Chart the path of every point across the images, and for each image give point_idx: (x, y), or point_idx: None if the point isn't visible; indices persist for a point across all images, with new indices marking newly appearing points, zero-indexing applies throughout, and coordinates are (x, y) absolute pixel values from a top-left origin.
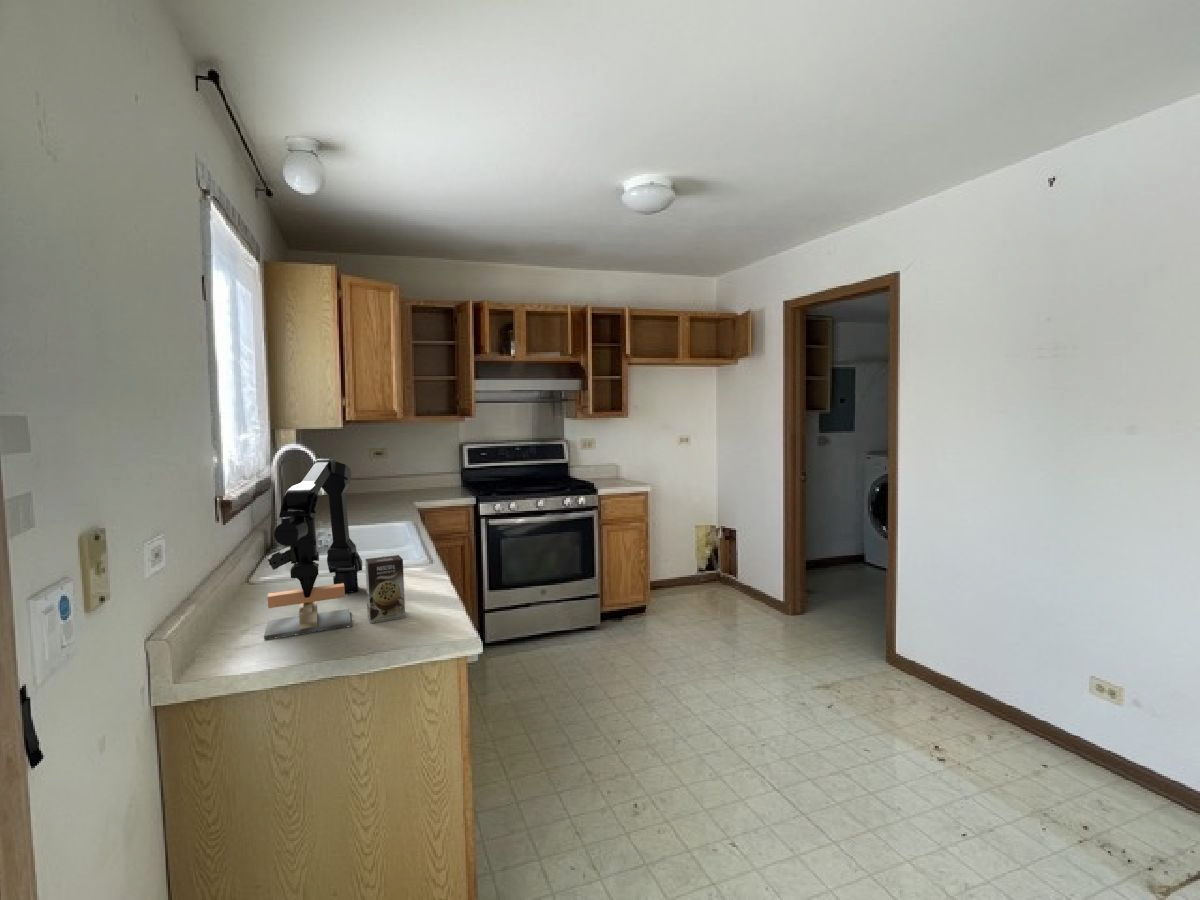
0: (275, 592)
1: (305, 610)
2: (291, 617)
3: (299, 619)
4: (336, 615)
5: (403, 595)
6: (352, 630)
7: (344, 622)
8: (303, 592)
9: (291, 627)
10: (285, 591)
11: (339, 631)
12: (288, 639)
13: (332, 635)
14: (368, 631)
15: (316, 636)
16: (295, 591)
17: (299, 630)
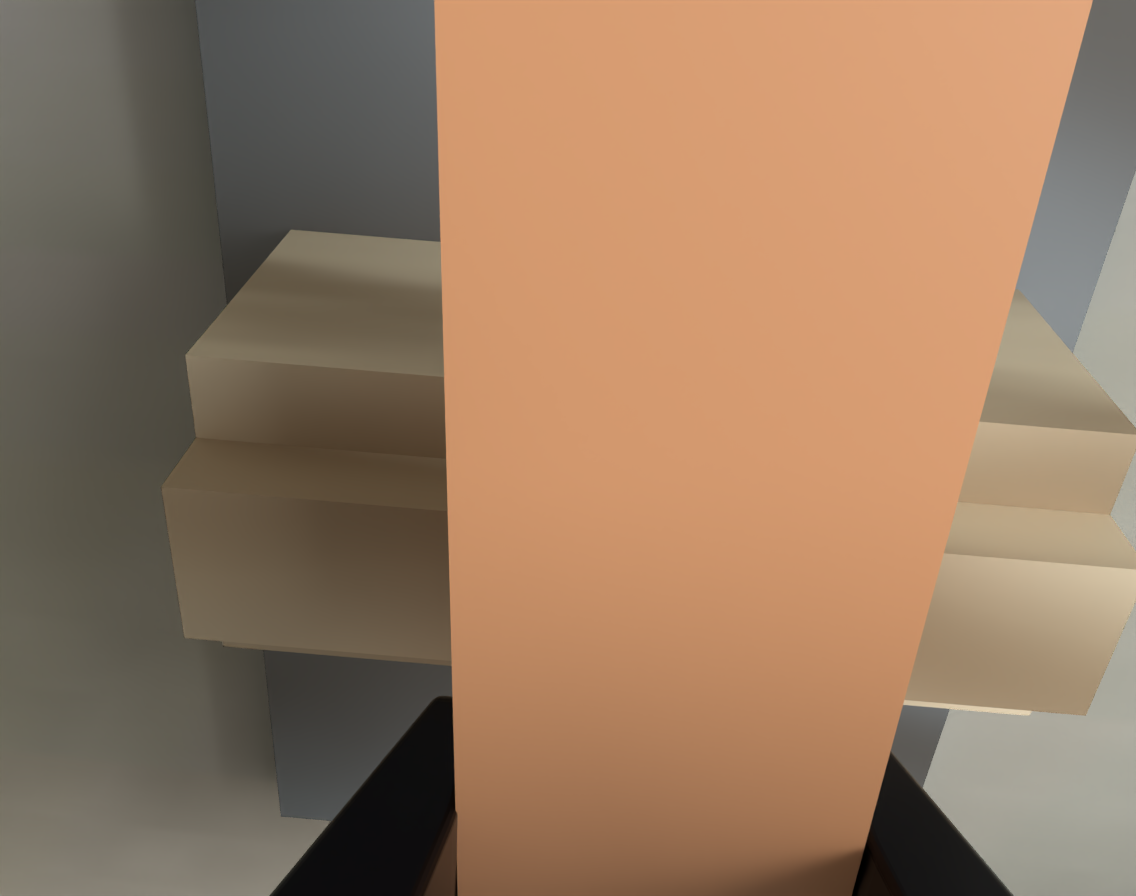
0: None
1: (181, 508)
2: (1121, 113)
3: (233, 303)
4: None
5: None
6: (145, 768)
7: (325, 764)
8: (345, 805)
9: None
10: (943, 288)
11: (163, 659)
12: (51, 4)
13: (35, 580)
14: (51, 874)
15: (60, 410)
16: (653, 621)
17: (223, 218)
